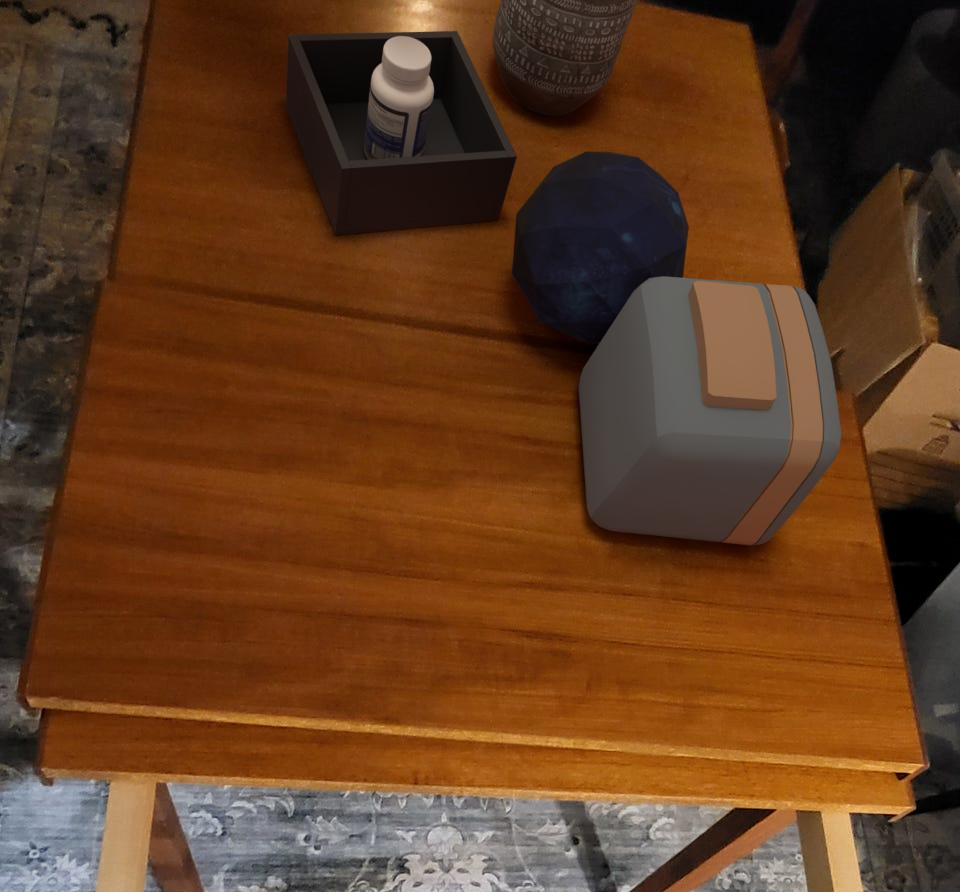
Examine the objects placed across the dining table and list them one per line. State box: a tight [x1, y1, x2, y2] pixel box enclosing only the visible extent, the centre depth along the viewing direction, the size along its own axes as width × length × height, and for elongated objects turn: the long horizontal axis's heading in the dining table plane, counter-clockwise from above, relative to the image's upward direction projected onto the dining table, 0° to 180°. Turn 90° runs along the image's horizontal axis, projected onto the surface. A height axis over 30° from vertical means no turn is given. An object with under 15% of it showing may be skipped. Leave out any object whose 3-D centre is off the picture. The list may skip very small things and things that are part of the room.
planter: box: [491, 0, 638, 117], centre depth 90 cm, size 12×12×13 cm
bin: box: [285, 30, 518, 236], centre depth 84 cm, size 16×16×7 cm
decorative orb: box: [511, 150, 690, 345], centre depth 79 cm, size 14×15×15 cm
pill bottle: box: [364, 36, 434, 160], centre depth 82 cm, size 5×5×10 cm
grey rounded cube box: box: [578, 276, 842, 546], centre depth 73 cm, size 16×16×16 cm
